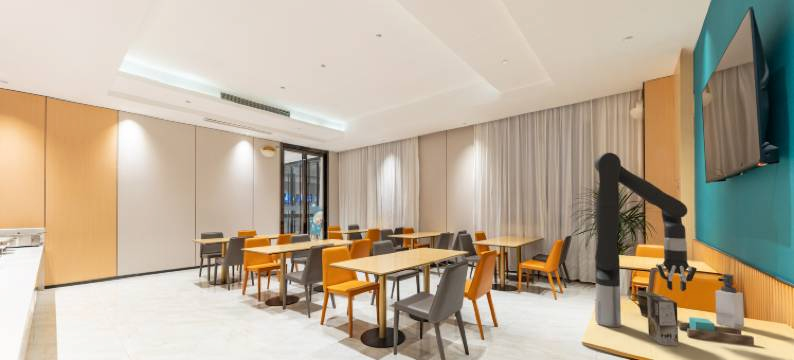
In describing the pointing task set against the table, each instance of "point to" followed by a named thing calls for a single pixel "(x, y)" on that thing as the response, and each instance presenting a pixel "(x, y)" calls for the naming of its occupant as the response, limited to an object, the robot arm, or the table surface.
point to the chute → (718, 334)
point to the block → (701, 324)
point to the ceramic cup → (643, 301)
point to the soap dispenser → (729, 304)
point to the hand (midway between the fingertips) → (676, 290)
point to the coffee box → (662, 320)
